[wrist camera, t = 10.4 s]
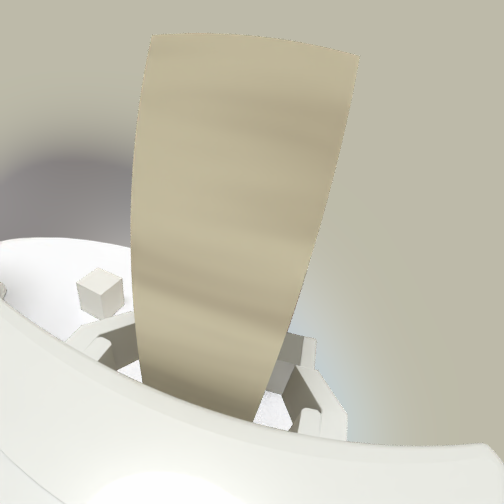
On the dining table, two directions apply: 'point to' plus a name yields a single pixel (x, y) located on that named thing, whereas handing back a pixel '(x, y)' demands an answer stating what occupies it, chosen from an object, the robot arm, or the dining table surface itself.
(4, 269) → the dining table surface
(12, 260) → the dining table surface
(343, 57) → the beige tall rectangular block
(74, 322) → the dining table surface
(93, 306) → the off-white cube
